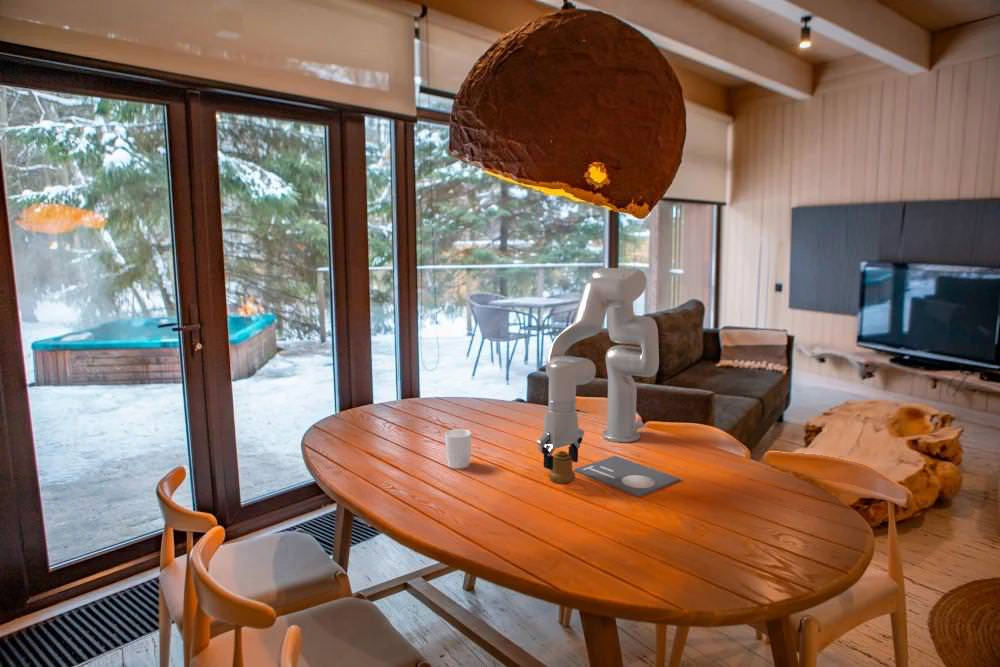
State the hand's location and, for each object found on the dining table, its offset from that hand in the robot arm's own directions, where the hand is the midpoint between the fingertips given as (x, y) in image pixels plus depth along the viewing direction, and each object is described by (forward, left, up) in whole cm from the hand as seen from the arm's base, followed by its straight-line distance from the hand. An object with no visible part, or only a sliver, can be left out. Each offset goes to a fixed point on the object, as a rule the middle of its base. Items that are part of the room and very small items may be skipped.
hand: (560, 464), depth 176 cm
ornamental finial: (0, 0, -5) cm, 5 cm away
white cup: (+16, -28, -5) cm, 33 cm away
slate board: (-16, +10, -4) cm, 20 cm away
